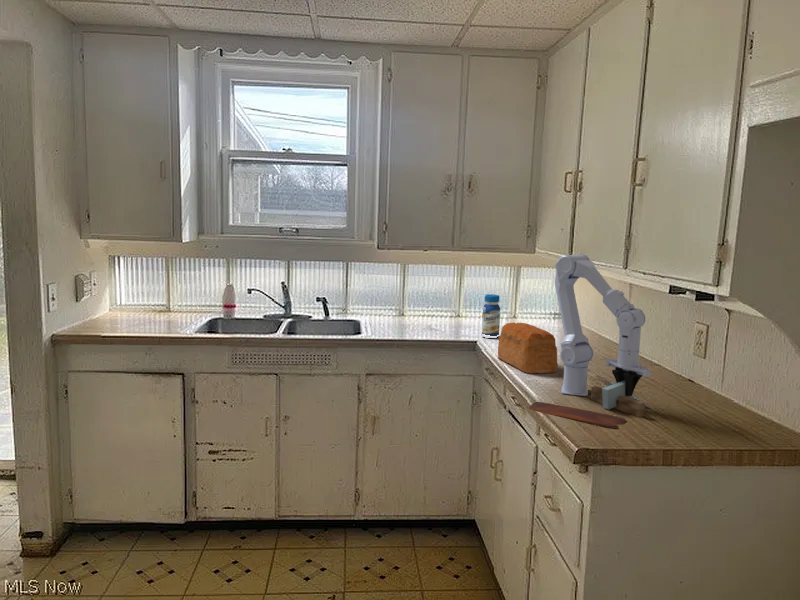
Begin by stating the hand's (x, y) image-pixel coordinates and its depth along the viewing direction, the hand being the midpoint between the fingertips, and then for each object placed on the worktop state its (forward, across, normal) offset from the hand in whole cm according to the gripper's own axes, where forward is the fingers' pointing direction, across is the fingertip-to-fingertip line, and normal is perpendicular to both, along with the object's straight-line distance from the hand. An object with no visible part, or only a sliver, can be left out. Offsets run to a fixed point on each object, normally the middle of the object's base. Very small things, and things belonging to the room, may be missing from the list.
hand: (625, 394), depth 174 cm
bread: (+4, +52, -6) cm, 53 cm away
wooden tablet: (+4, +1, +20) cm, 20 cm away
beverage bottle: (+4, +100, -25) cm, 103 cm away
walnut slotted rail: (+3, 0, +4) cm, 5 cm away
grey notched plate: (+2, 0, +3) cm, 4 cm away
